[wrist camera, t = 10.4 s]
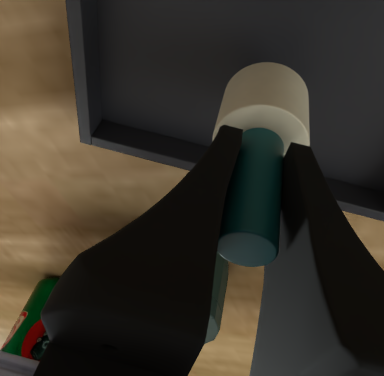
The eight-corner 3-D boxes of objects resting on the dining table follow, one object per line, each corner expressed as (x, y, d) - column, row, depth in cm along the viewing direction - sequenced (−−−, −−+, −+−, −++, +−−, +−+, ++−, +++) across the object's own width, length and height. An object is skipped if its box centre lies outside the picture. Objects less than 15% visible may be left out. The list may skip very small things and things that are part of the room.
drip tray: (564, -9, 11) (599, 14, 10) (387, 195, 19) (394, 224, 18) (80, -125, 12) (52, -117, 11) (95, 119, 19) (80, 142, 18)
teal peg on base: (322, 74, 13) (336, 230, 8) (290, 142, 15) (285, 294, 10) (234, 51, 13) (195, 193, 8) (216, 123, 15) (177, 265, 10)
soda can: (36, 268, 34) (-45, 408, 26) (86, 282, 34) (20, 427, 26) (44, 292, 38) (-25, 420, 30) (89, 304, 38) (32, 437, 30)
